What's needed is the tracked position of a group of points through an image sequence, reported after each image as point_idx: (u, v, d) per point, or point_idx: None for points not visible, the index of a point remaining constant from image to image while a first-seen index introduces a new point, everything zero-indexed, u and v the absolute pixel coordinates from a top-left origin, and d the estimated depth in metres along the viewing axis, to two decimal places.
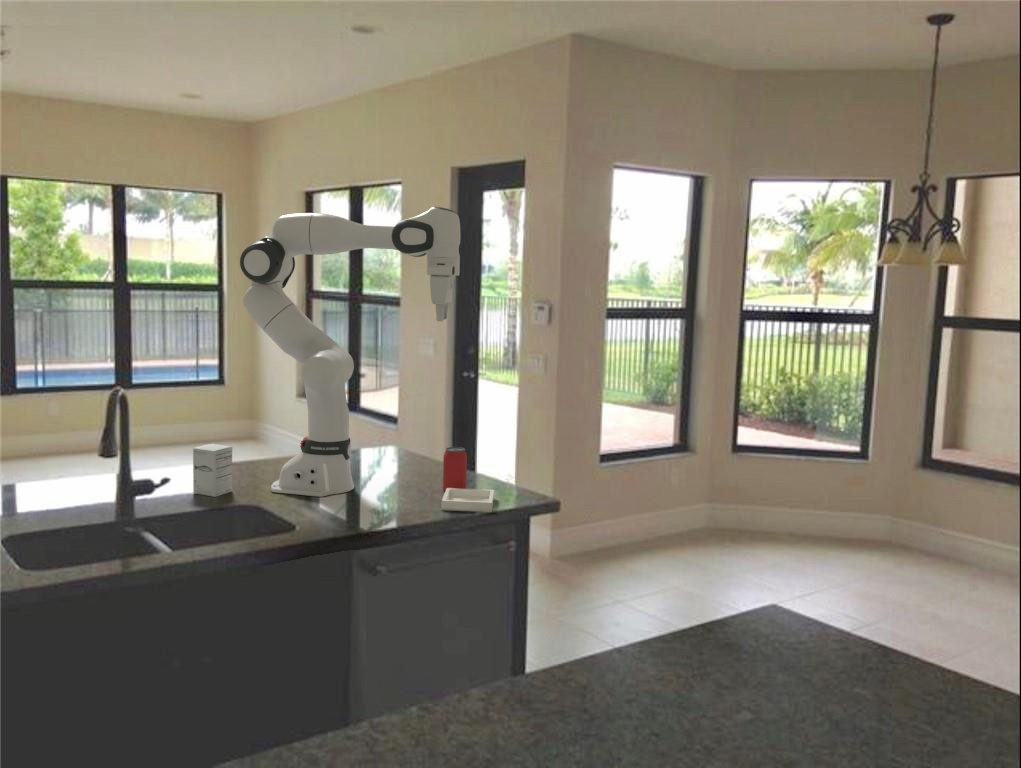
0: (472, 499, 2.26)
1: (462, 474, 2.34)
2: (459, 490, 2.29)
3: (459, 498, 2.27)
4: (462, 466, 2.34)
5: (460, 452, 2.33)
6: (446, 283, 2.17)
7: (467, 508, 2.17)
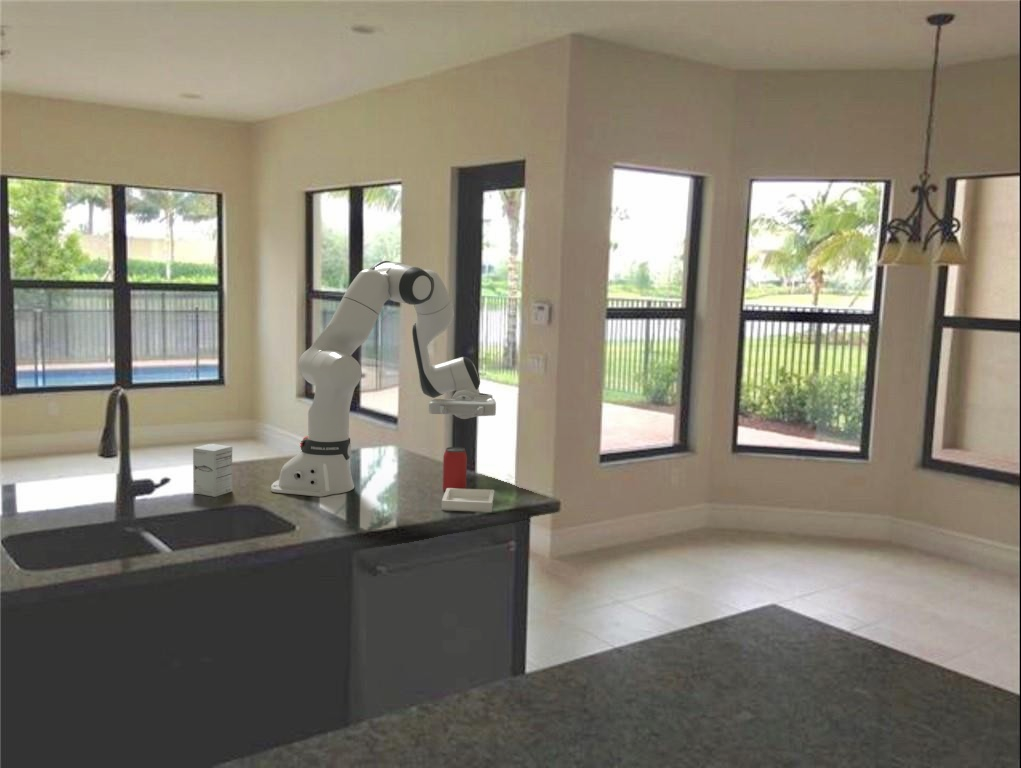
0: (472, 499, 2.26)
1: (462, 474, 2.34)
2: (459, 490, 2.29)
3: (459, 498, 2.27)
4: (462, 466, 2.34)
5: (460, 452, 2.33)
6: None
7: (467, 508, 2.17)
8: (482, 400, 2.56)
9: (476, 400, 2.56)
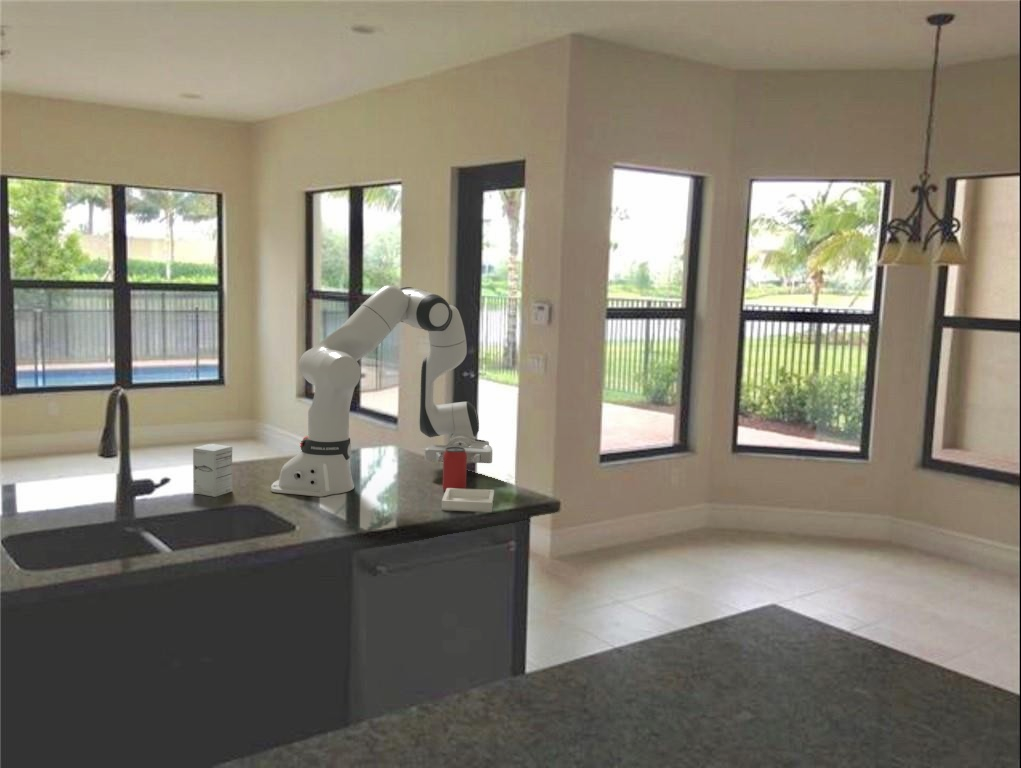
0: (472, 499, 2.26)
1: (462, 474, 2.34)
2: (459, 490, 2.29)
3: (459, 498, 2.27)
4: (462, 466, 2.34)
5: (460, 452, 2.33)
6: None
7: (467, 508, 2.17)
8: (478, 446, 2.54)
9: (472, 447, 2.54)
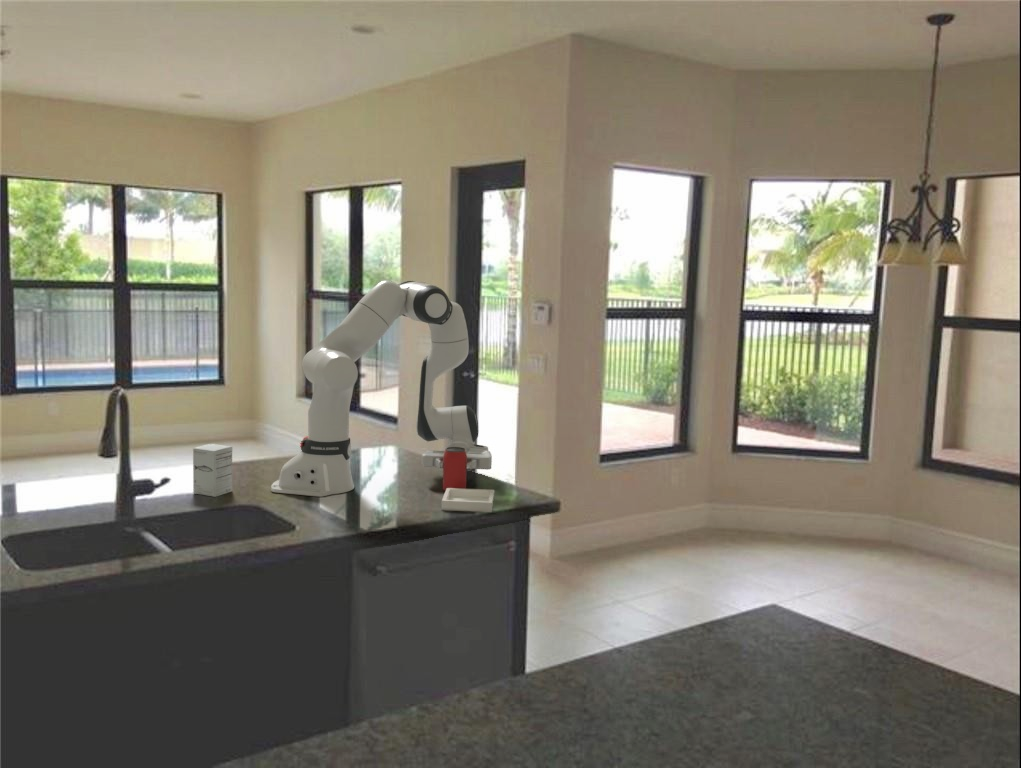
0: (472, 499, 2.26)
1: (462, 474, 2.34)
2: (459, 490, 2.29)
3: (459, 498, 2.27)
4: (462, 466, 2.34)
5: (460, 452, 2.33)
6: None
7: (467, 508, 2.17)
8: (477, 452, 2.45)
9: (471, 452, 2.45)
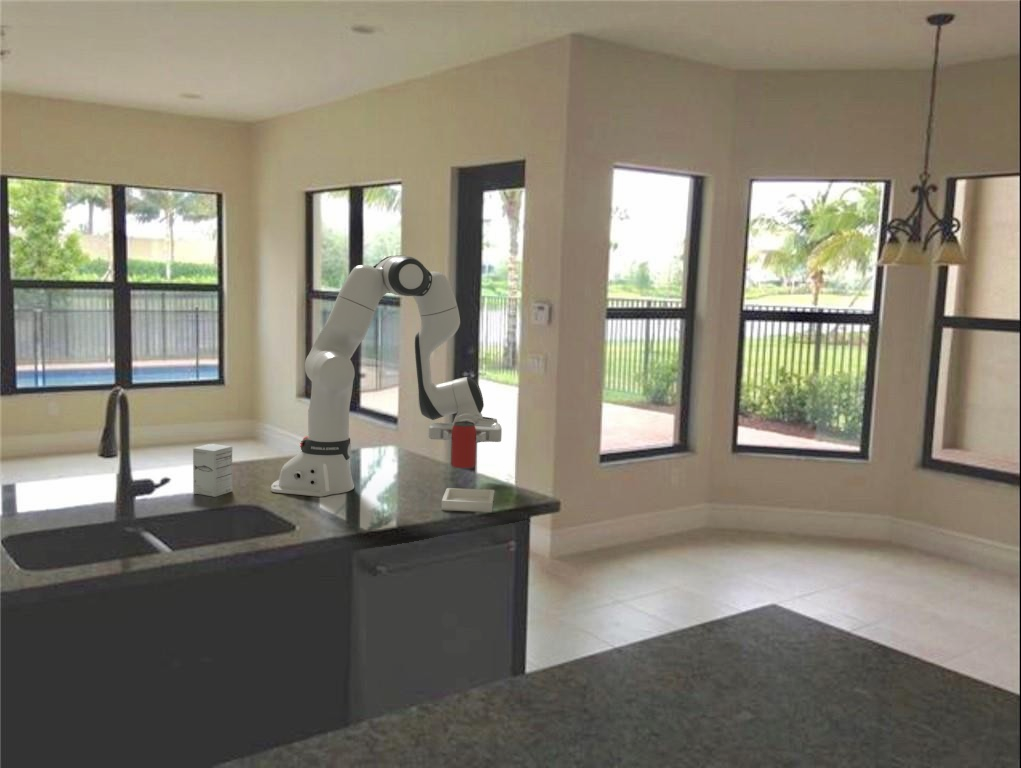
0: (472, 499, 2.26)
1: (472, 449, 2.26)
2: (459, 490, 2.29)
3: (459, 498, 2.27)
4: (471, 441, 2.25)
5: (469, 426, 2.25)
6: None
7: (467, 508, 2.17)
8: (486, 424, 2.37)
9: (480, 425, 2.37)
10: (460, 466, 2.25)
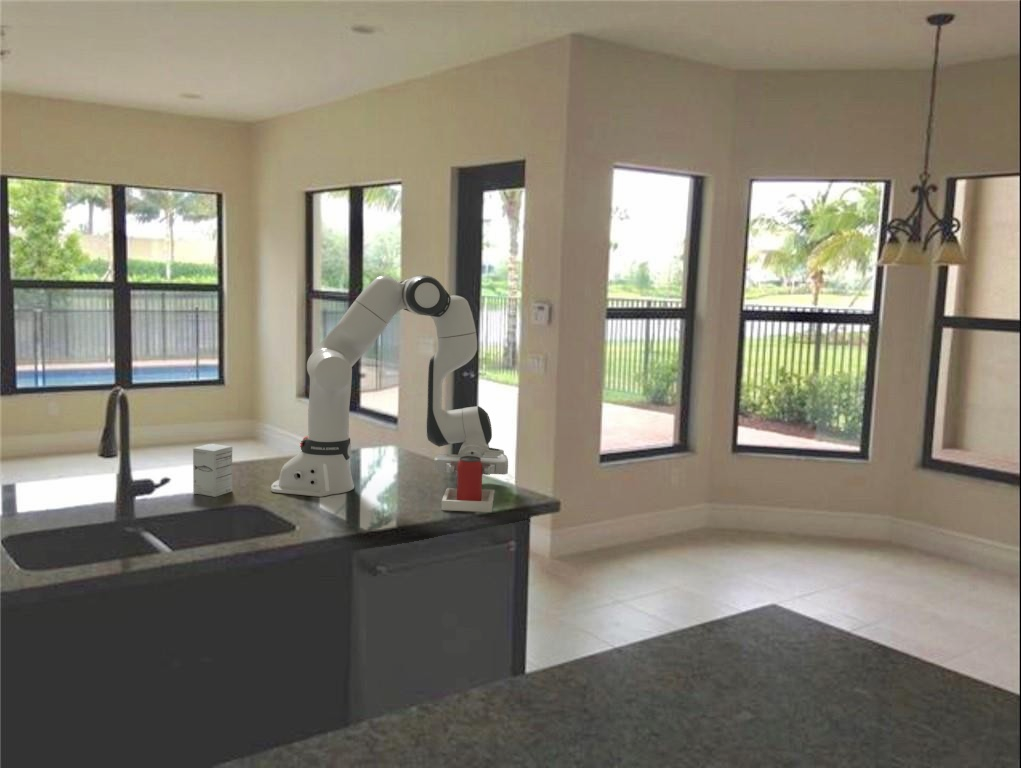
0: None
1: (478, 485, 2.21)
2: None
3: None
4: (478, 476, 2.20)
5: (475, 462, 2.20)
6: None
7: (467, 508, 2.17)
8: (492, 456, 2.31)
9: (486, 456, 2.31)
10: None
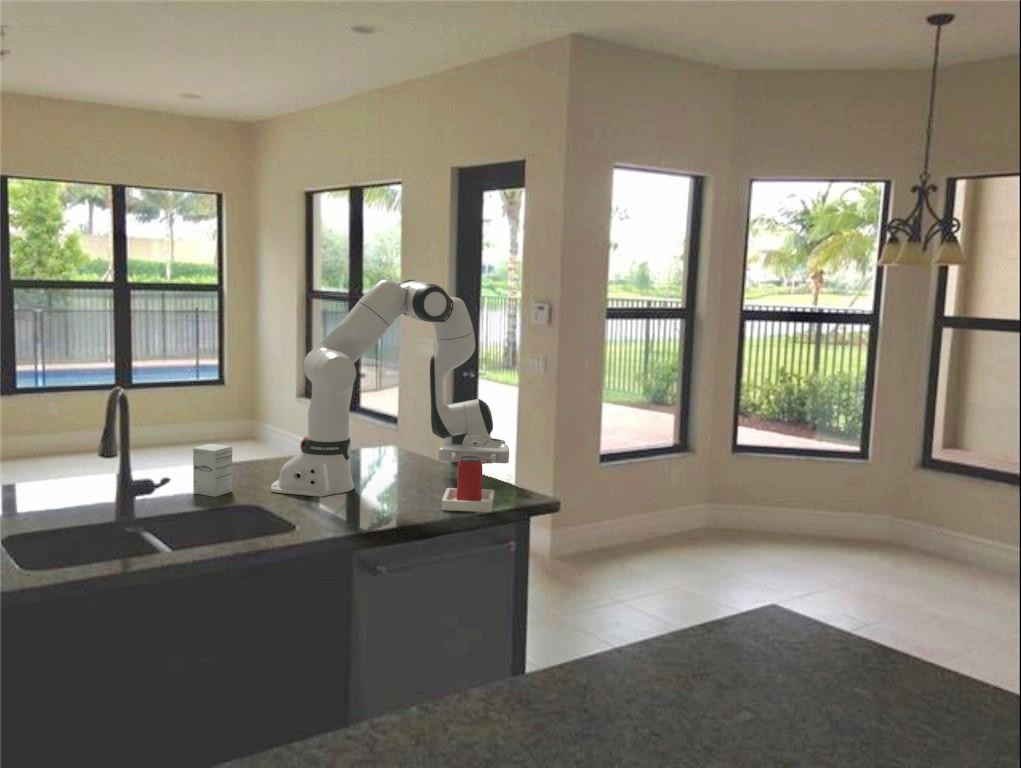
0: None
1: (478, 485, 2.21)
2: None
3: None
4: (478, 476, 2.20)
5: (475, 462, 2.20)
6: None
7: (467, 508, 2.17)
8: (494, 446, 2.44)
9: (488, 446, 2.44)
10: None
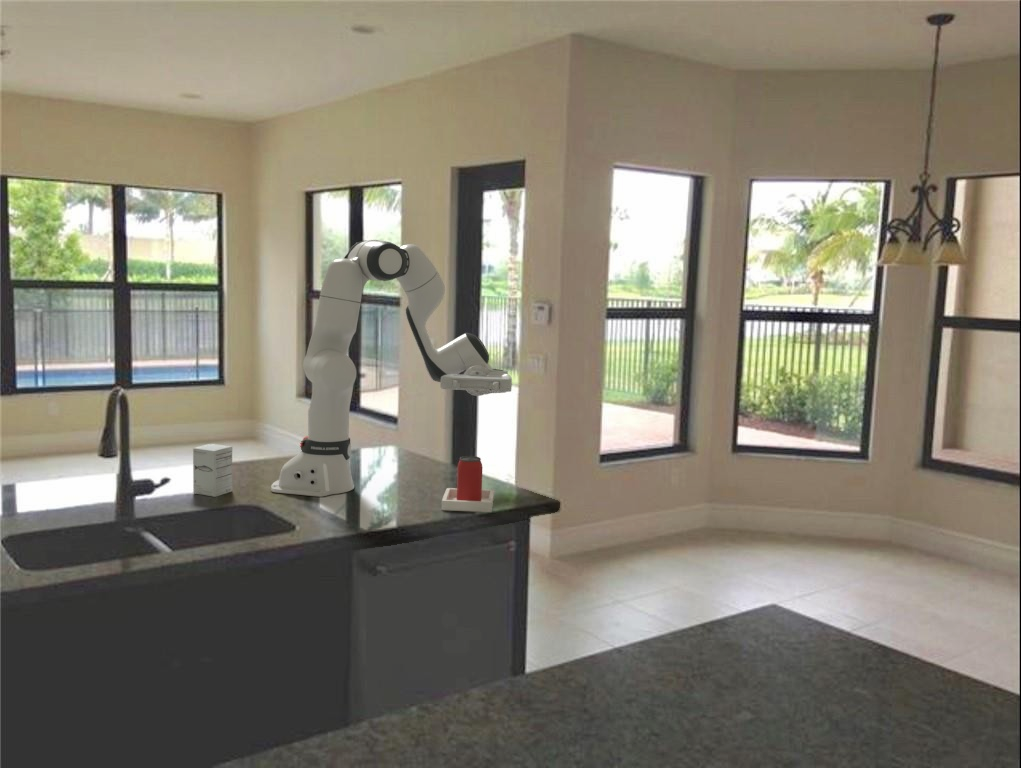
0: None
1: (478, 485, 2.21)
2: None
3: None
4: (478, 476, 2.20)
5: (475, 462, 2.20)
6: None
7: (467, 508, 2.17)
8: (496, 375, 2.41)
9: (490, 376, 2.41)
10: None
